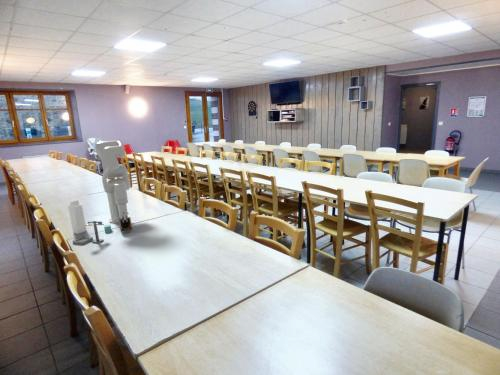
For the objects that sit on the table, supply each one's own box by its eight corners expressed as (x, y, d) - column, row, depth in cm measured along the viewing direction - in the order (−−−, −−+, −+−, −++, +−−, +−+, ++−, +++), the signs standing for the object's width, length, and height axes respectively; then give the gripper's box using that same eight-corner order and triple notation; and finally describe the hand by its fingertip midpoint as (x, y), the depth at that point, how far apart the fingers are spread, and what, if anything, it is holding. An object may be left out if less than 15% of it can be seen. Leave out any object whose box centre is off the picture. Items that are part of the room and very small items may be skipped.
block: (105, 231, 211) (104, 225, 210) (111, 229, 212) (110, 224, 211) (105, 232, 207) (104, 227, 206) (111, 231, 209) (110, 226, 208)
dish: (83, 238, 198) (83, 236, 198) (93, 239, 195) (92, 237, 195) (73, 243, 191) (72, 241, 190) (82, 244, 188) (82, 242, 188)
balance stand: (92, 242, 190) (89, 224, 188) (97, 240, 194) (94, 222, 191) (98, 243, 189) (95, 225, 186) (103, 240, 192) (100, 223, 190)
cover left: (121, 232, 206) (119, 222, 208) (131, 229, 209) (130, 220, 211) (120, 229, 200) (119, 219, 202) (131, 226, 203) (130, 217, 205)
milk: (73, 232, 210) (66, 202, 205) (81, 229, 216) (75, 199, 211) (79, 233, 208) (72, 202, 203) (87, 230, 213) (81, 200, 208)
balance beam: (82, 225, 183) (82, 221, 183) (100, 224, 195) (100, 220, 196) (88, 225, 181) (88, 221, 182) (105, 225, 194) (105, 221, 194)
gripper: (115, 199, 210) (119, 224, 215) (116, 204, 196) (120, 231, 200) (126, 197, 214) (130, 222, 218) (128, 203, 199) (132, 229, 203)
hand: (125, 226), depth 209 cm, fingers open, 3 cm apart
